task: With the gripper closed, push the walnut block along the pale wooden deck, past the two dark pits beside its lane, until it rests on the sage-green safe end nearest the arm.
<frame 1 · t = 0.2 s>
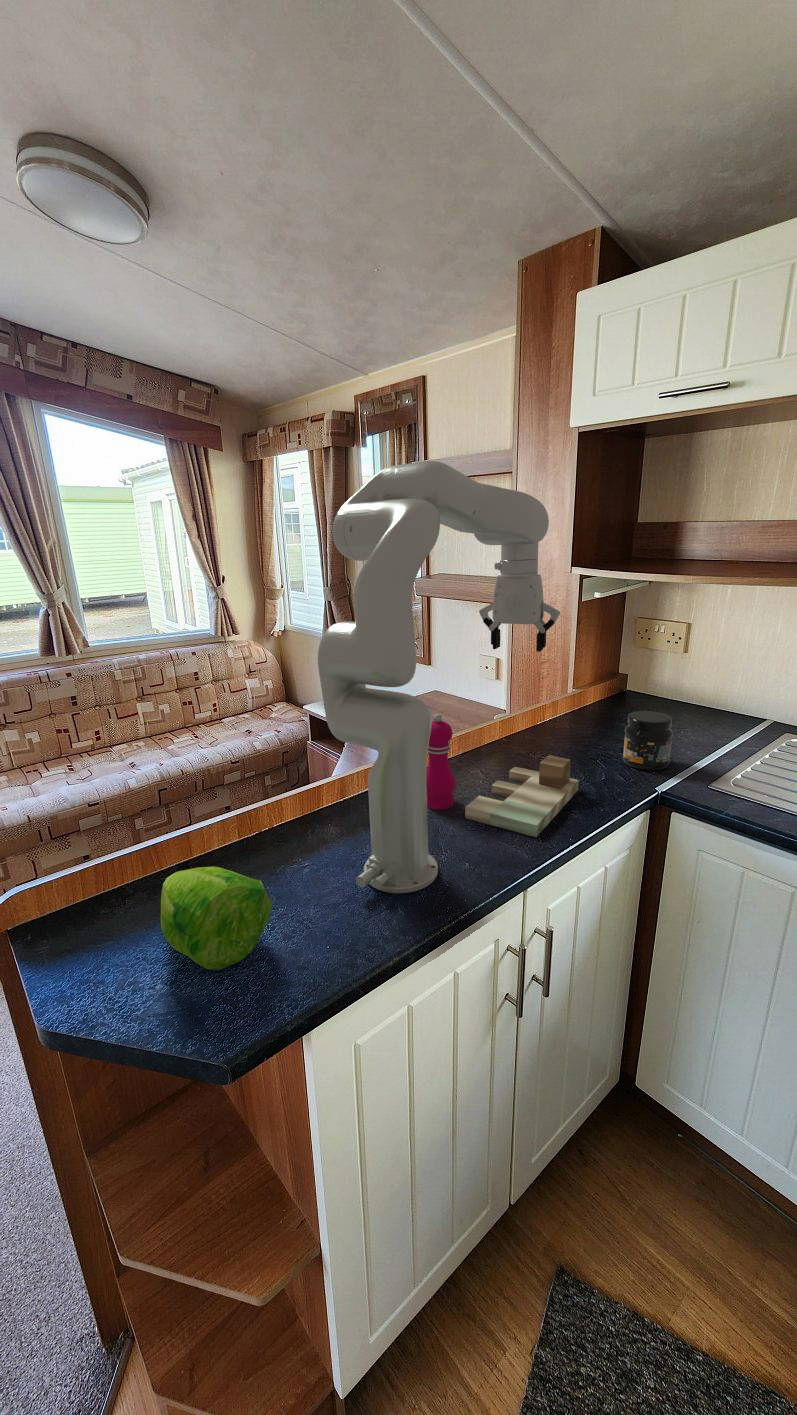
hand: (517, 649, 124), 31 cm above the worktop, tool pointing down, fingers open, 9 cm apart
lettuce: (211, 944, 82), on the worktop
supplement container: (645, 764, 139), on the worktop
walnut block: (554, 782, 124), point 2 cm above the worktop, touching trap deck
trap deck: (524, 803, 120), on the worktop
pepper mill: (439, 804, 122), on the worktop
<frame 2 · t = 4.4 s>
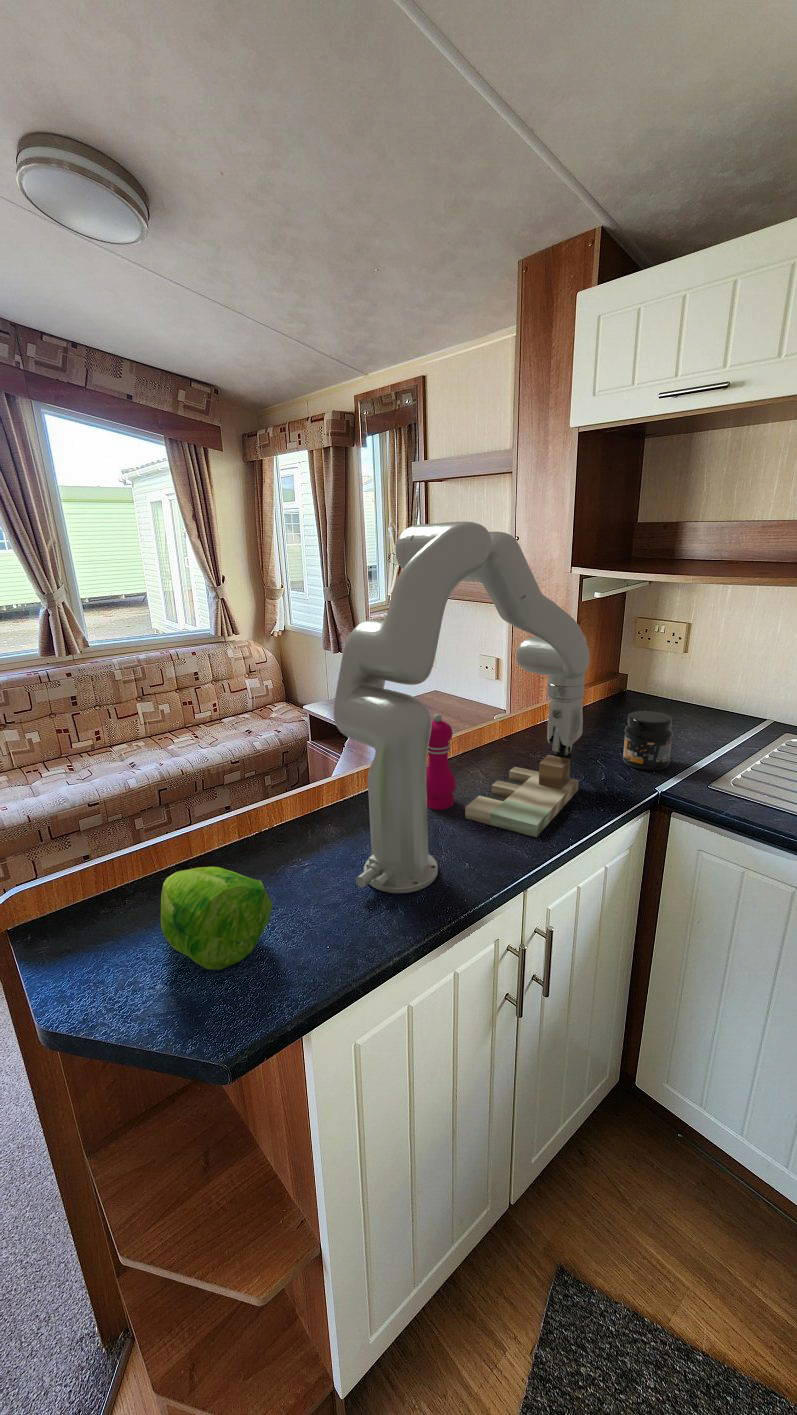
hand: (562, 769, 127), 4 cm above the worktop, tool pointing down, fingers closed
walnut block: (554, 782, 124), point 3 cm above the worktop, touching gripper, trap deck
everything else where it was.
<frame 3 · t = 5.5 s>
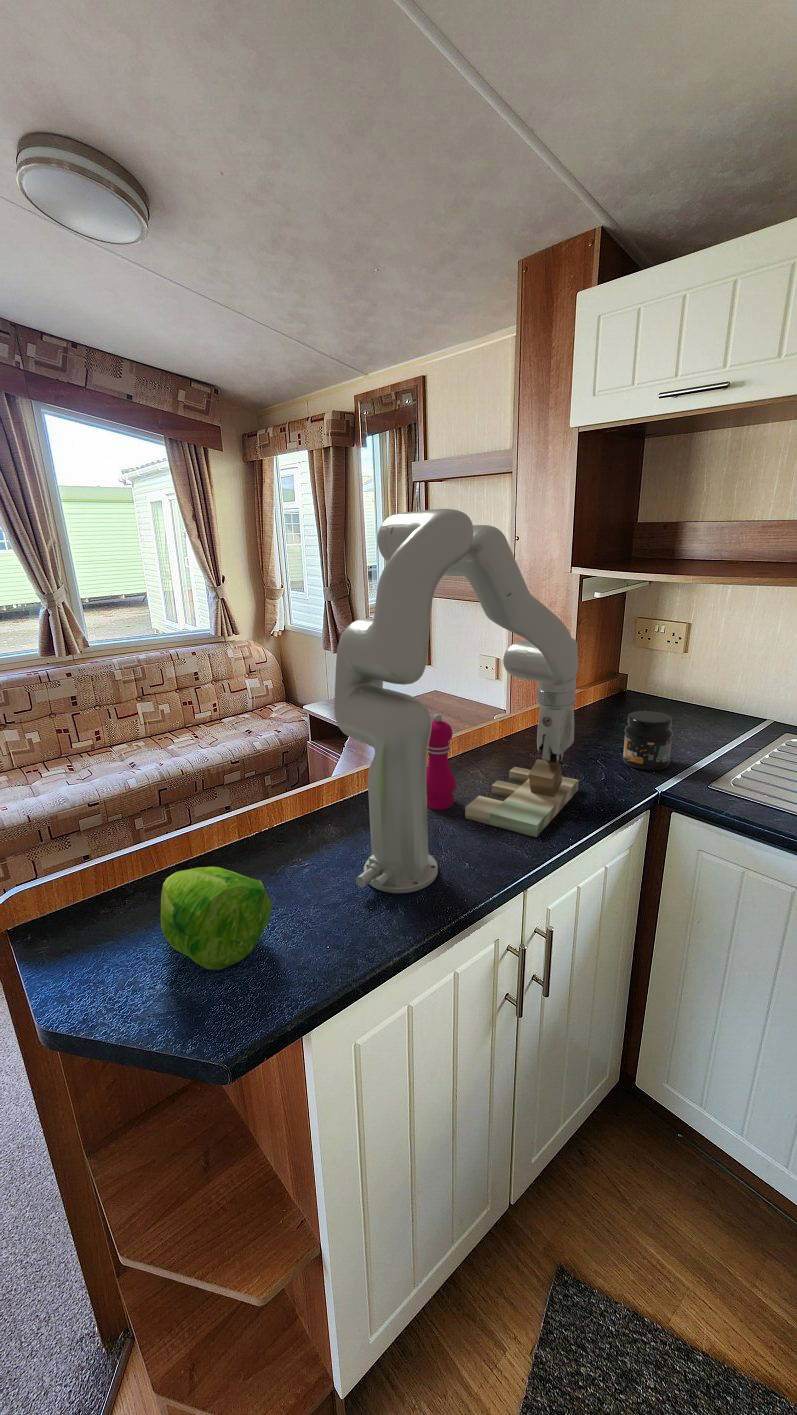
hand: (553, 778, 123), 4 cm above the worktop, tool pointing down, fingers closed
walnut block: (546, 786, 120), point 3 cm above the worktop, tilted 19°, touching gripper
everything else where it was.
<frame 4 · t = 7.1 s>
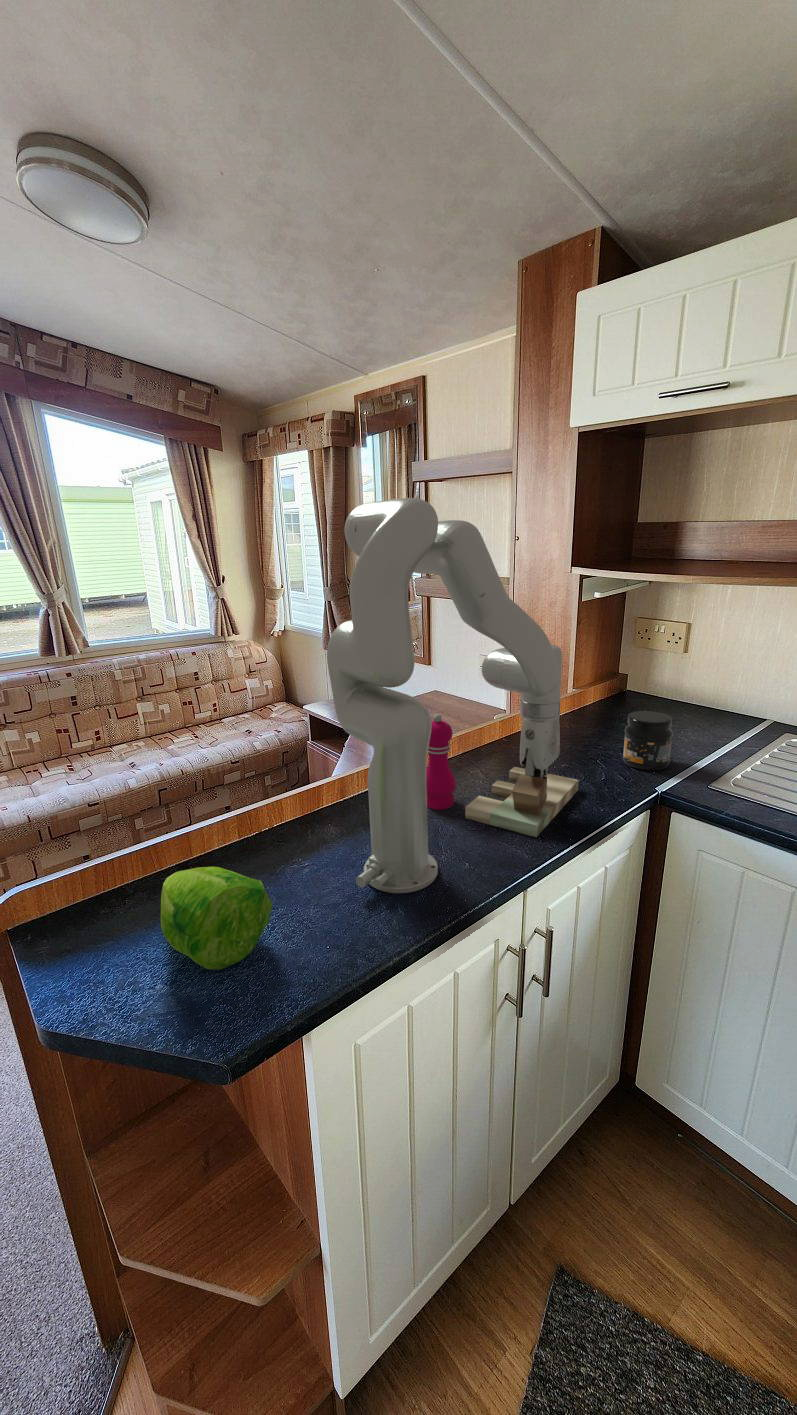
hand: (537, 794, 116), 4 cm above the worktop, tool pointing down, fingers closed
walnut block: (530, 803, 113), point 3 cm above the worktop, tilted 20°, touching gripper
everything else where it was.
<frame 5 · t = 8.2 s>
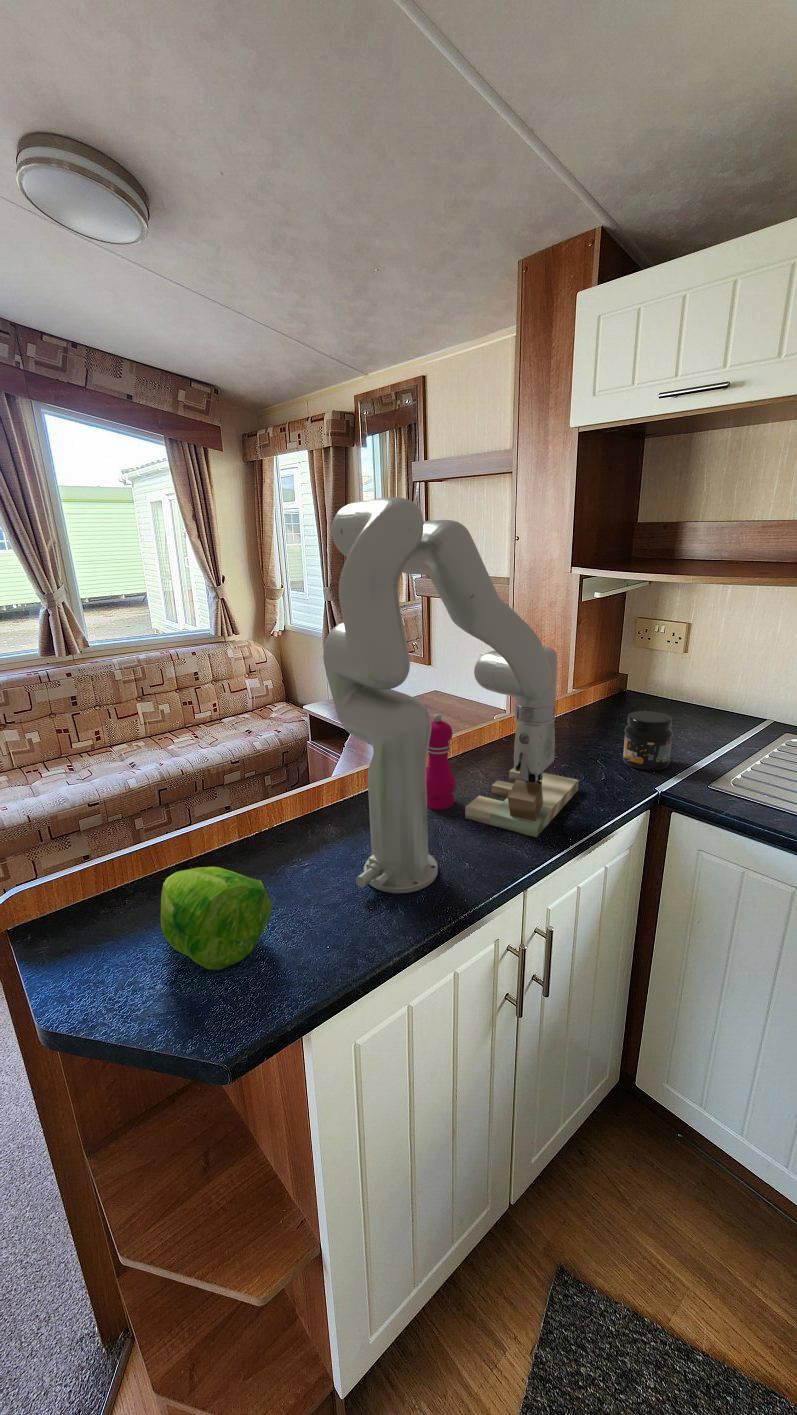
hand: (532, 799, 114), 4 cm above the worktop, tool pointing down, fingers closed
walnut block: (526, 809, 111), point 3 cm above the worktop, tilted 20°, touching gripper, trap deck
everything else where it was.
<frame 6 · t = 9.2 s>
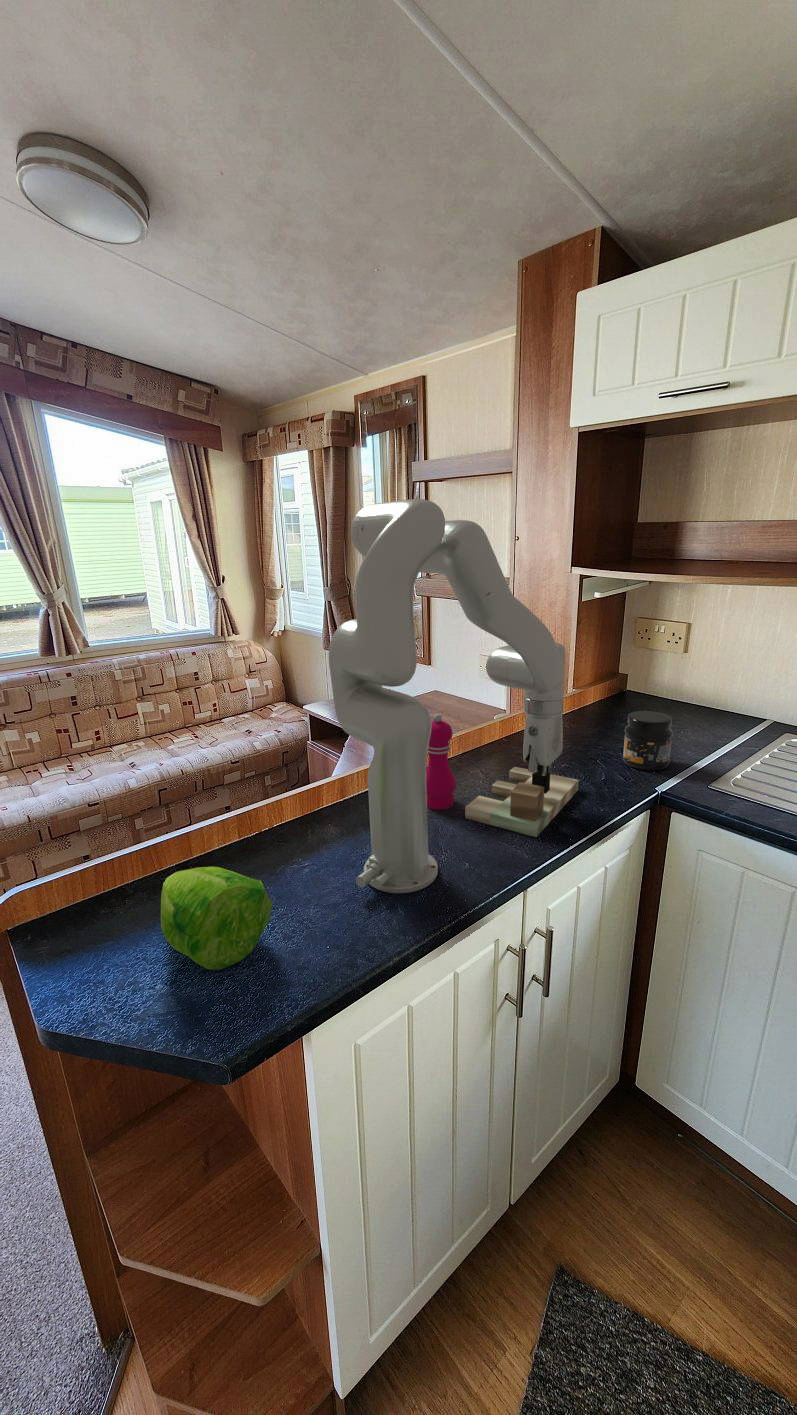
hand: (540, 790, 117), 4 cm above the worktop, tool pointing down, fingers closed
walnut block: (526, 812, 111), point 2 cm above the worktop, touching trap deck
everything else where it was.
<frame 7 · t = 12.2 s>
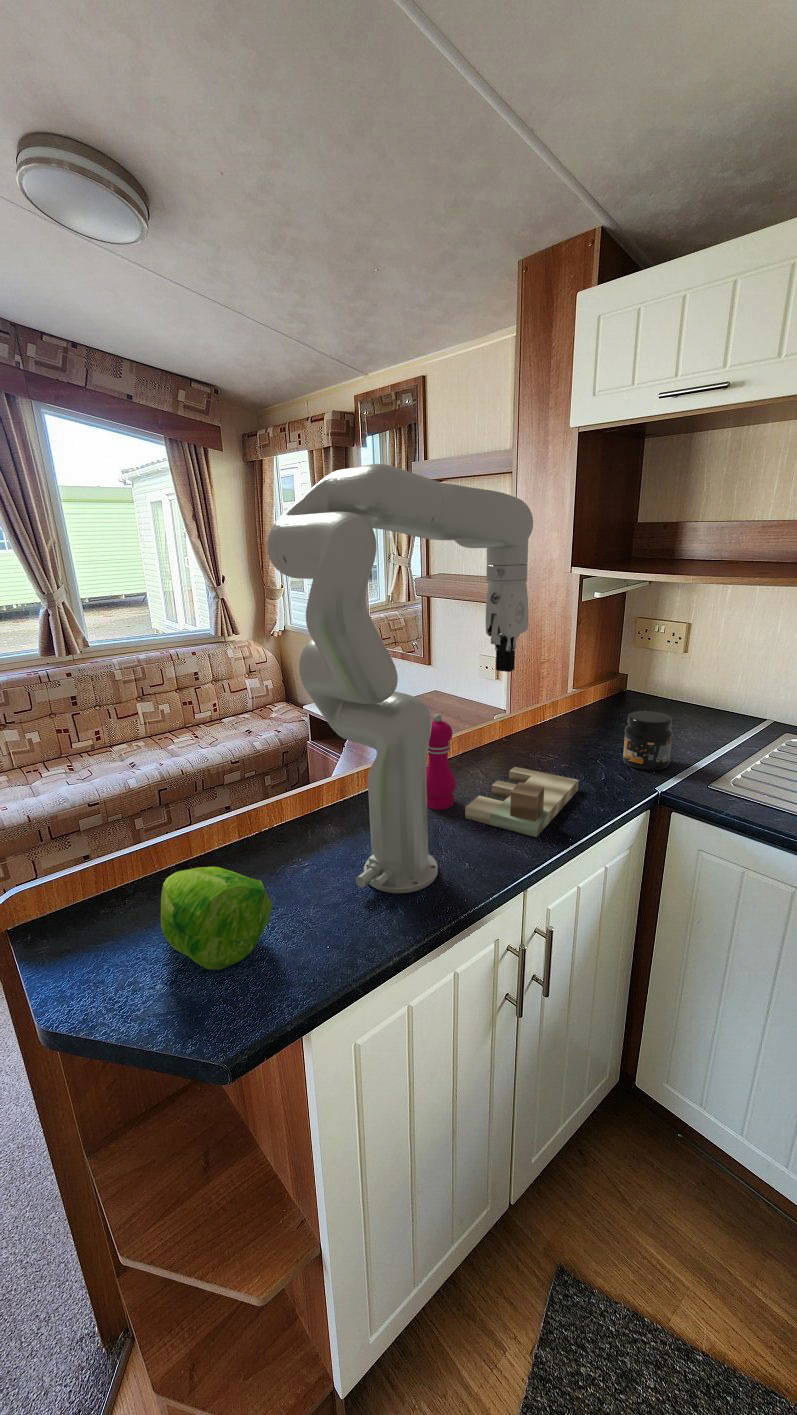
hand: (505, 670, 112), 29 cm above the worktop, tool pointing down, fingers closed
nothing on the worktop moved.
at the end: walnut block inside the target area (0.8 cm from its centre), point 2.5 cm above the worktop; walnut block tilted 0° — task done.
